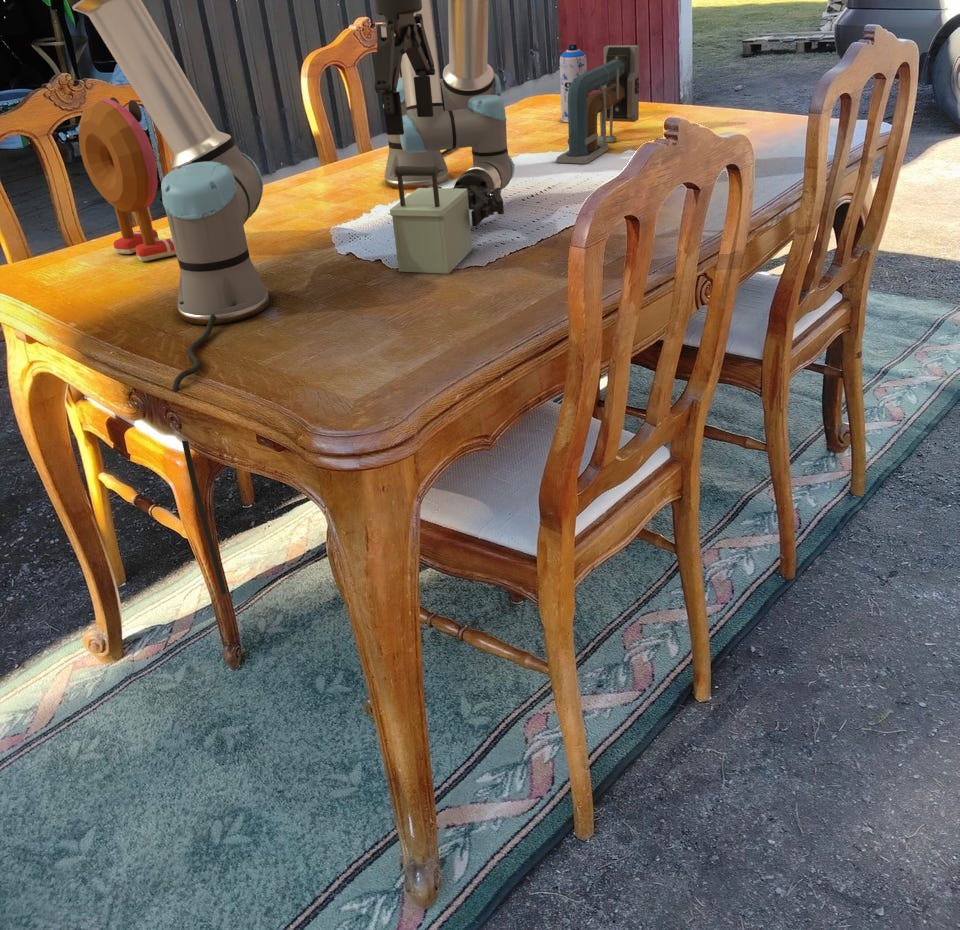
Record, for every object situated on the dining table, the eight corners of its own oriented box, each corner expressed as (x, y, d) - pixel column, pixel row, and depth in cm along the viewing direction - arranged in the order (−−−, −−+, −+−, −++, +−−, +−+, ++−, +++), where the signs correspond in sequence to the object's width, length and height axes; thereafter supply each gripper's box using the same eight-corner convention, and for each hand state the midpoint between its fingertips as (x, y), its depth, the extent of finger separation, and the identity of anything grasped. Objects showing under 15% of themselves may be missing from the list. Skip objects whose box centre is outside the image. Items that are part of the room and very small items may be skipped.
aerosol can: (559, 122, 275) (557, 47, 265) (562, 117, 282) (559, 42, 272) (587, 121, 274) (585, 45, 263) (589, 115, 280) (587, 41, 270)
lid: (442, 216, 167) (437, 169, 163) (390, 215, 170) (384, 169, 166) (467, 194, 178) (464, 150, 174) (418, 193, 181) (414, 150, 177)
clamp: (586, 163, 233) (584, 69, 222) (553, 162, 237) (550, 69, 226) (638, 131, 258) (639, 45, 248) (607, 130, 262) (607, 45, 251)
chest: (448, 273, 173) (443, 216, 168) (398, 271, 176) (391, 214, 171) (472, 249, 184) (467, 194, 178) (424, 248, 187) (418, 194, 181)
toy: (199, 253, 194) (163, 96, 179) (154, 268, 188) (113, 106, 173) (144, 236, 207) (106, 89, 192) (101, 250, 201) (58, 98, 186)
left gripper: (404, -22, 163) (417, 109, 174) (340, -5, 143) (360, 142, 154) (445, -24, 161) (456, 109, 172) (387, -7, 141) (403, 142, 152)
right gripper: (535, 206, 195) (504, 239, 178) (423, 204, 203) (383, 236, 186) (534, 168, 192) (502, 199, 174) (419, 167, 199) (378, 197, 182)
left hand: (411, 125), depth 163 cm, fingers open, 13 cm apart
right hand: (440, 218), depth 180 cm, fingers open, 12 cm apart
